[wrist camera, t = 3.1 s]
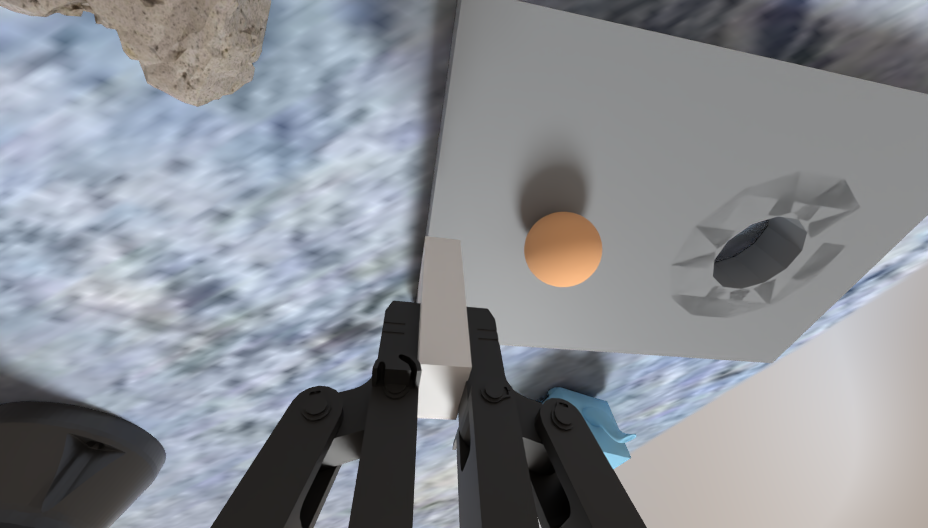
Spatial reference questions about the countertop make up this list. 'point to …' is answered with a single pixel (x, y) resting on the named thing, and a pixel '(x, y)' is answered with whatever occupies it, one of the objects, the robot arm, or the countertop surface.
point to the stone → (177, 39)
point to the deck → (665, 182)
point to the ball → (563, 249)
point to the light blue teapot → (599, 424)
